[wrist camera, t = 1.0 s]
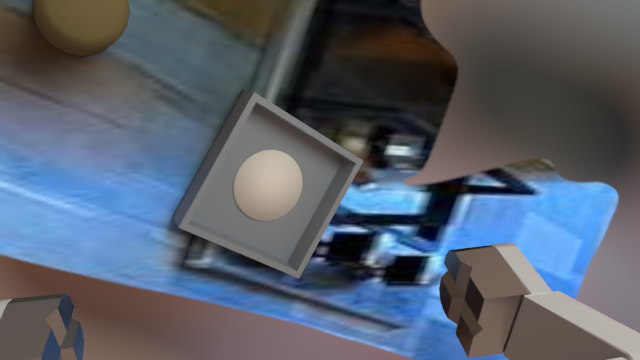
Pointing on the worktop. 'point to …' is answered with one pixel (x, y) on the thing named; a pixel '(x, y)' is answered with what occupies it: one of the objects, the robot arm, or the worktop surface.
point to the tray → (294, 227)
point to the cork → (81, 23)
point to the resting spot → (267, 185)
